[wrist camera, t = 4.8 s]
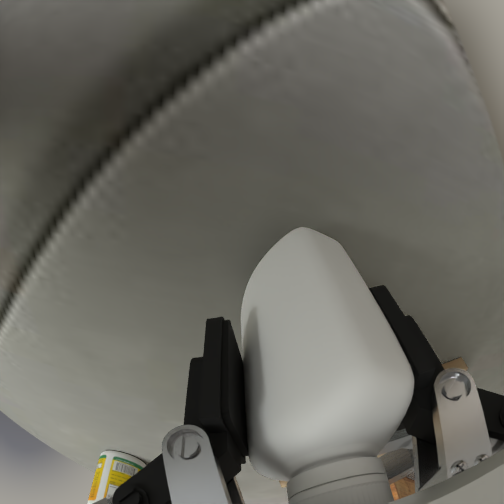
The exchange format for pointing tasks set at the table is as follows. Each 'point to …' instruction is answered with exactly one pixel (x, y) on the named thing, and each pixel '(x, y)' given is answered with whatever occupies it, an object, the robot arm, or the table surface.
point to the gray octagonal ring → (398, 456)
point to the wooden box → (402, 488)
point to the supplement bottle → (112, 473)
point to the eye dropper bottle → (320, 374)
